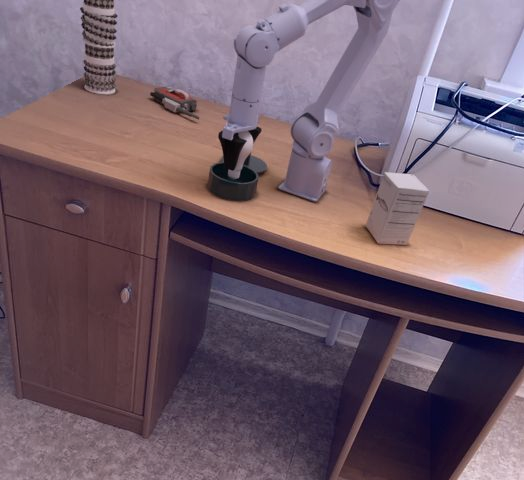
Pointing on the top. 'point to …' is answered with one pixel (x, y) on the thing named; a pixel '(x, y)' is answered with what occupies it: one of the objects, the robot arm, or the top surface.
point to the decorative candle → (99, 45)
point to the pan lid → (254, 164)
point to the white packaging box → (396, 208)
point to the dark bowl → (232, 183)
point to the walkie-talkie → (175, 100)
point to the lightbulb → (242, 154)
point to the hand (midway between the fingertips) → (235, 164)
